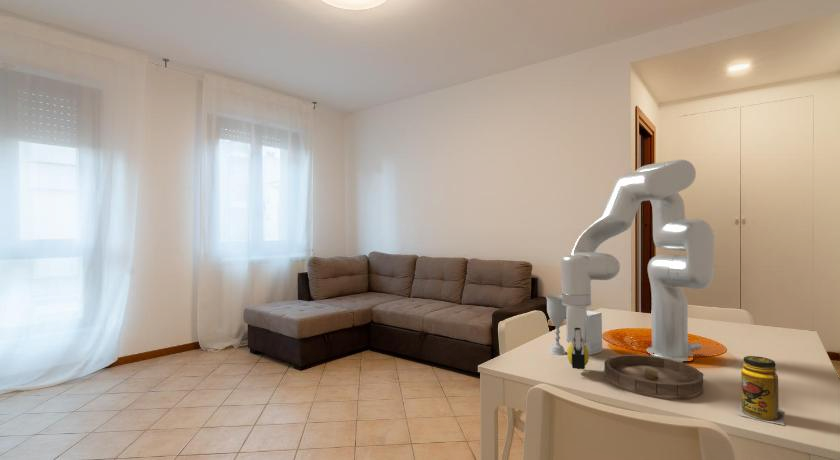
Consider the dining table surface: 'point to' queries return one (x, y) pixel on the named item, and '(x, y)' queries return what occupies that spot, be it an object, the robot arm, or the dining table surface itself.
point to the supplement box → (593, 332)
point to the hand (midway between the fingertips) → (578, 363)
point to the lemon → (570, 351)
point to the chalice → (556, 320)
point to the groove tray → (661, 376)
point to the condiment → (760, 390)
